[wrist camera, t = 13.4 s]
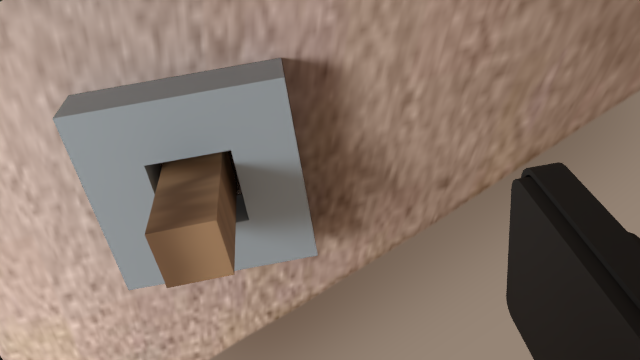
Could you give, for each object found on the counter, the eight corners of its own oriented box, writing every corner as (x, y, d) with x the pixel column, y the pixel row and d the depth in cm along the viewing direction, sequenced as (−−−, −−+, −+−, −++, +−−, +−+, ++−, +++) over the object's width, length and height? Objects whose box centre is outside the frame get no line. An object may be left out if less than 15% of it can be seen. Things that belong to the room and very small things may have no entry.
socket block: (281, 57, 36) (284, 77, 33) (312, 227, 44) (317, 255, 41) (68, 95, 36) (52, 118, 33) (136, 259, 43) (128, 290, 40)
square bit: (223, 137, 39) (216, 220, 30) (237, 184, 41) (234, 274, 32) (167, 148, 39) (144, 234, 30) (183, 195, 41) (167, 287, 32)
